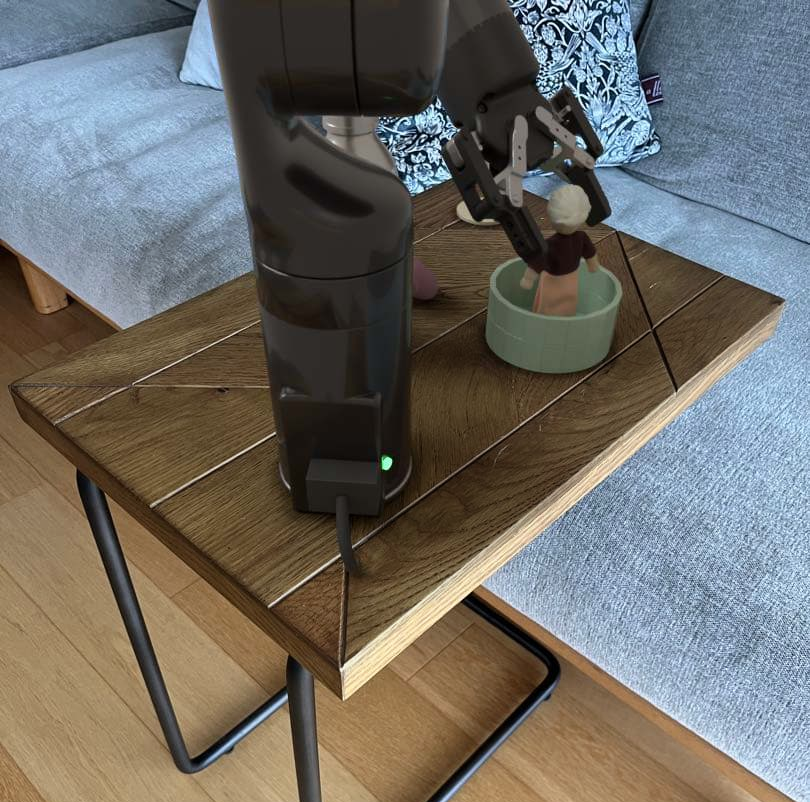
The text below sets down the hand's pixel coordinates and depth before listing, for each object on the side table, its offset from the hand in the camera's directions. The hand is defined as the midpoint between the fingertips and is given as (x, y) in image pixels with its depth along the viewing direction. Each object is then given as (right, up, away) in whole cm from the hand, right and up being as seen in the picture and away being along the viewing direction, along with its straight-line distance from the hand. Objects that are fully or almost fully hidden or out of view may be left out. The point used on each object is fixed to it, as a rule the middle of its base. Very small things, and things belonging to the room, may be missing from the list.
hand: (571, 239), depth 64 cm
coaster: (-4, +12, +24) cm, 27 cm away
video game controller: (-15, -1, +12) cm, 19 cm away
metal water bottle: (-17, -8, +5) cm, 19 cm away
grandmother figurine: (-1, -6, +7) cm, 9 cm away
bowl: (-1, -6, +7) cm, 9 cm away
